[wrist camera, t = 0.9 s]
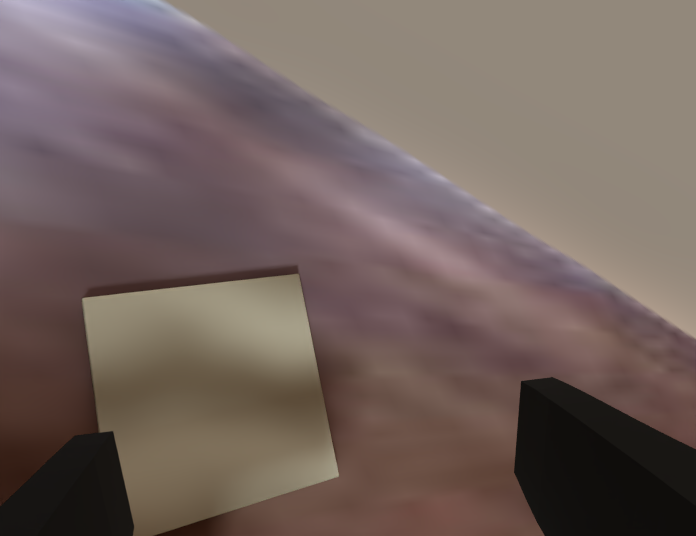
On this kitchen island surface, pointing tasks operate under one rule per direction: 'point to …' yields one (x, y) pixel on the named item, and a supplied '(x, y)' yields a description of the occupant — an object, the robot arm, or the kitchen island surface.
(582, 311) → the kitchen island surface
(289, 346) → the pad
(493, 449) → the kitchen island surface
